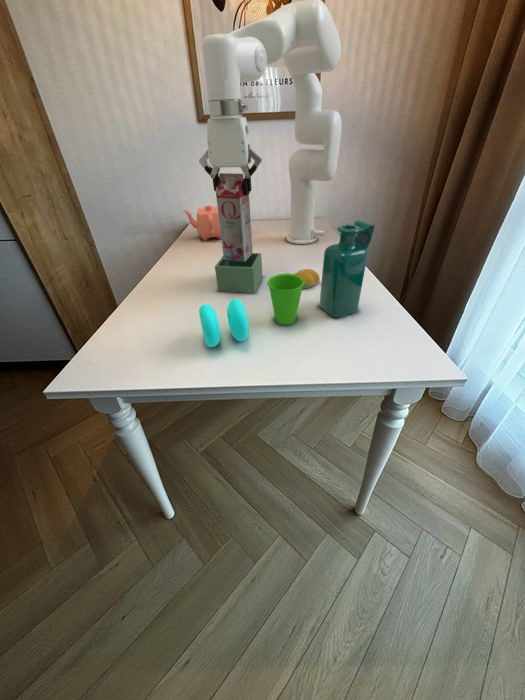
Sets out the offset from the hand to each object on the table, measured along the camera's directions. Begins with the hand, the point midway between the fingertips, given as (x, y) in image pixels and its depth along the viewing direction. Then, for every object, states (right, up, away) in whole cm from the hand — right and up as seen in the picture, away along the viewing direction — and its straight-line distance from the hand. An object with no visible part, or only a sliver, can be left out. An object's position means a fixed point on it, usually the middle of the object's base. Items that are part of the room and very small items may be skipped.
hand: (233, 193), depth 83 cm
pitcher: (+29, -30, +3) cm, 42 cm away
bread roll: (+21, -21, +15) cm, 33 cm away
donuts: (-1, -39, -7) cm, 40 cm away
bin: (+1, -21, +16) cm, 26 cm away
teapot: (-14, +8, +54) cm, 56 cm away
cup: (+14, -34, -1) cm, 37 cm away
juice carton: (+1, -14, +11) cm, 17 cm away
